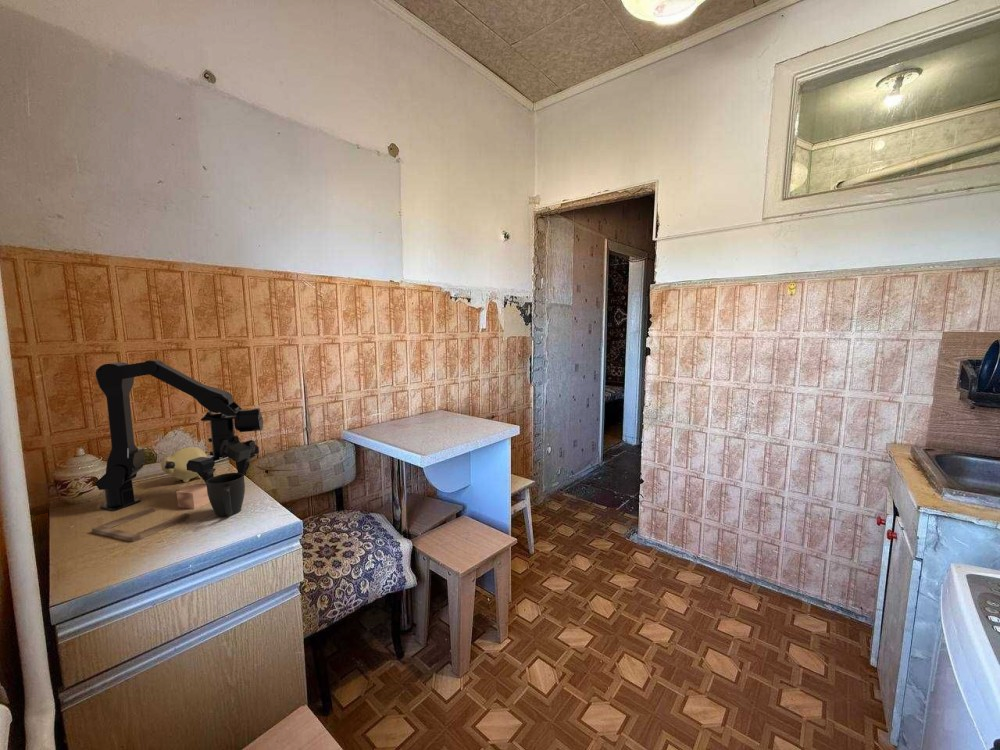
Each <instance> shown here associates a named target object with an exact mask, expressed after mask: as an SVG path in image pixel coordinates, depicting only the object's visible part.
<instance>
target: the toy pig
mask: <svg viewBox="0 0 1000 750" xmlns="http://www.w3.org/2000/svg"><path fill="white" fill-rule="evenodd" d="M198 457H207V458H209V457H208V456H207V454H206V453H205V451H204V450H203V449H202V448H199V447H196V446H189V447H185V448H182V449H179V450H177V451H176V452H174V453H173V454H172V455H170V456H166V458H164V459H162V460H161V463H160V467H161V470H162V472H164V473H165V474H167V475H170V476H172V477H174V478H175V479H177V480H182V481H183V483H188V482H189V481H190V480H191V479H194V478H196V477H198V476H199V474H198V473H197V472H192V471H189V470H187V466H186V464H187V462H188V461H189V460H192V459H195V458H198ZM199 477H200V476H199Z"/></svg>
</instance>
